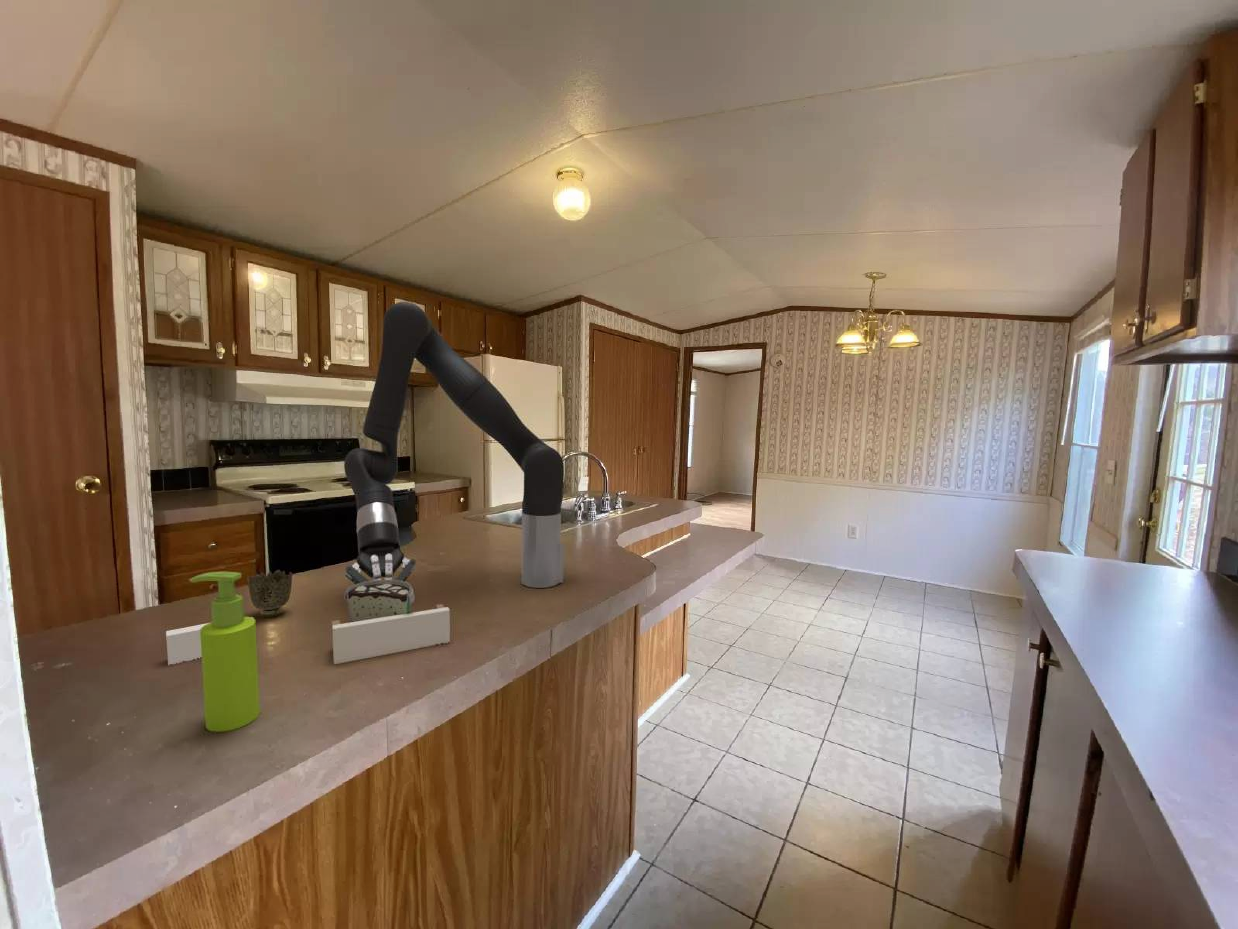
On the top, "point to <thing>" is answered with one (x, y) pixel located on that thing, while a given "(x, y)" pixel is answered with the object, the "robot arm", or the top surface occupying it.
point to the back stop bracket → (390, 634)
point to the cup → (270, 592)
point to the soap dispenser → (228, 658)
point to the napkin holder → (184, 644)
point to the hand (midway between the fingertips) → (385, 610)
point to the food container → (378, 599)
